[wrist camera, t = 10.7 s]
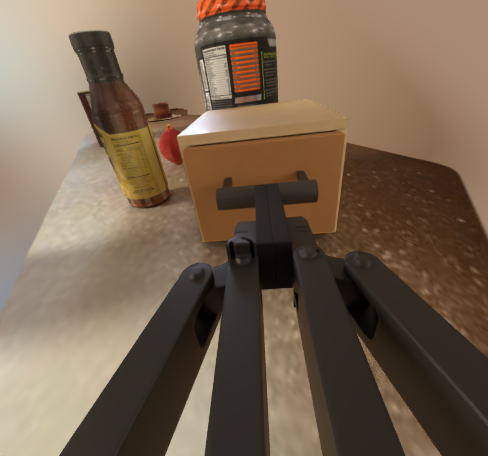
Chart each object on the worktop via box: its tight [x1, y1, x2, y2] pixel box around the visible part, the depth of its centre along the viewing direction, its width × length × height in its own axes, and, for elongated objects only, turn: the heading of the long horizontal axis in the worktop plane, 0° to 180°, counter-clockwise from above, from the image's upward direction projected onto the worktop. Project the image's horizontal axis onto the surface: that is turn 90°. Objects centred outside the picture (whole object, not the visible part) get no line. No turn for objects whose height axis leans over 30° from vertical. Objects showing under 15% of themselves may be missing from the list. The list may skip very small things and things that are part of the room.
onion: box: [159, 124, 183, 165], centre depth 48 cm, size 6×6×8 cm
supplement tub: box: [195, 0, 278, 111], centre depth 50 cm, size 16×16×26 cm
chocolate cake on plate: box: [147, 102, 181, 121], centre depth 122 cm, size 18×18×7 cm
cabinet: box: [177, 99, 349, 242], centre depth 29 cm, size 16×14×11 cm
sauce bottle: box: [69, 31, 170, 207], centre depth 31 cm, size 7×6×20 cm
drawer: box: [183, 131, 345, 241], centre depth 25 cm, size 19×13×9 cm, turn 179°
